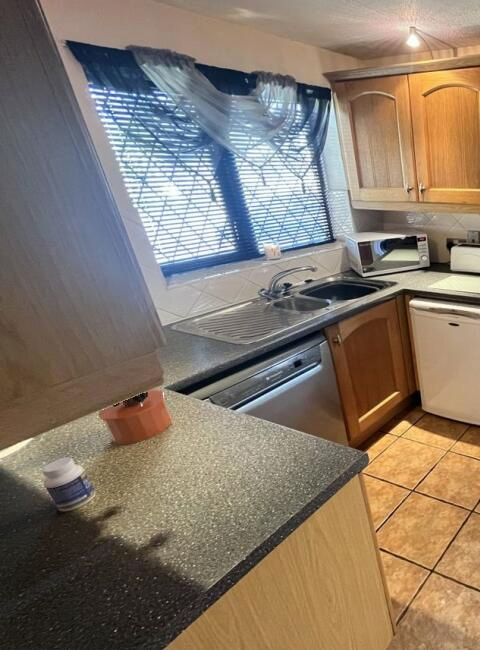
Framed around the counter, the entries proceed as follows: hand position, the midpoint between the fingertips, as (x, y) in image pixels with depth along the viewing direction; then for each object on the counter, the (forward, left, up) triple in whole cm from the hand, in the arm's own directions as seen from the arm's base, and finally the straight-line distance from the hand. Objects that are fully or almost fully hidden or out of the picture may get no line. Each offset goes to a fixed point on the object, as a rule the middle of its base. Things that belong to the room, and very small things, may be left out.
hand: (131, 400), depth 97 cm
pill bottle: (0, -24, -9) cm, 26 cm away
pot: (0, 0, -9) cm, 9 cm away
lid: (0, 0, -1) cm, 1 cm away
